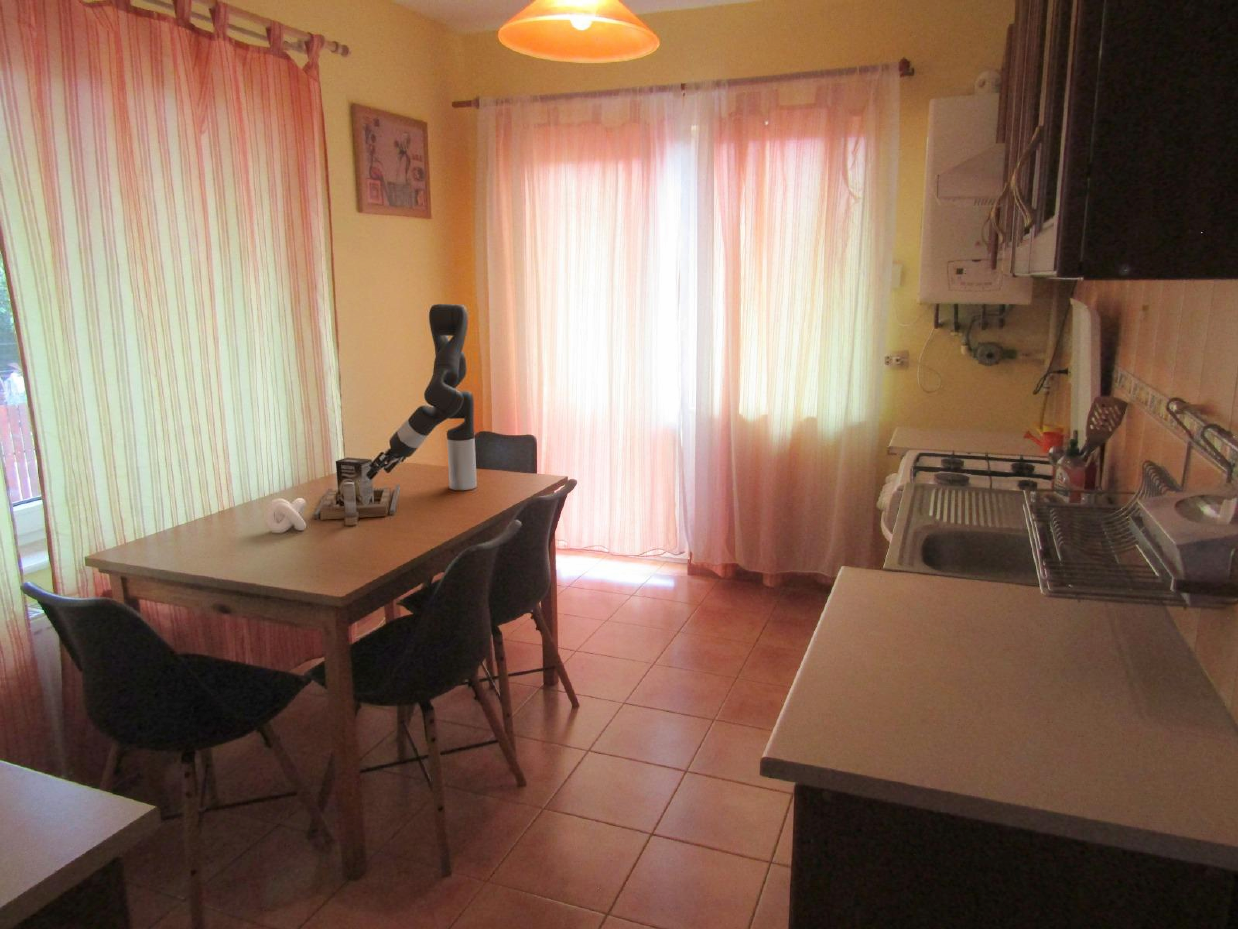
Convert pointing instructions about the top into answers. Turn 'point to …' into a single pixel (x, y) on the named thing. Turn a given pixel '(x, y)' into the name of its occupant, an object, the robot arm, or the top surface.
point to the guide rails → (392, 508)
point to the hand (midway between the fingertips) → (377, 474)
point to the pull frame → (354, 505)
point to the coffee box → (355, 479)
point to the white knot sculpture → (284, 515)
